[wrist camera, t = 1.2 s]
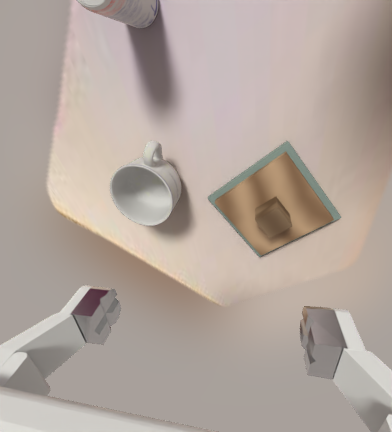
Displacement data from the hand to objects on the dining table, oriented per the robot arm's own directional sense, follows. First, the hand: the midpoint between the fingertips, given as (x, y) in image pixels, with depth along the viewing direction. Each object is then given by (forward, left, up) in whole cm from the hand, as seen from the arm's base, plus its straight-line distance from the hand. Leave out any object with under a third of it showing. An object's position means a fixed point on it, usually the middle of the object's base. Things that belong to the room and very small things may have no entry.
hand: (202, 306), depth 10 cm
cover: (+3, +13, -32) cm, 34 cm away
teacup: (+15, -4, -33) cm, 36 cm away
